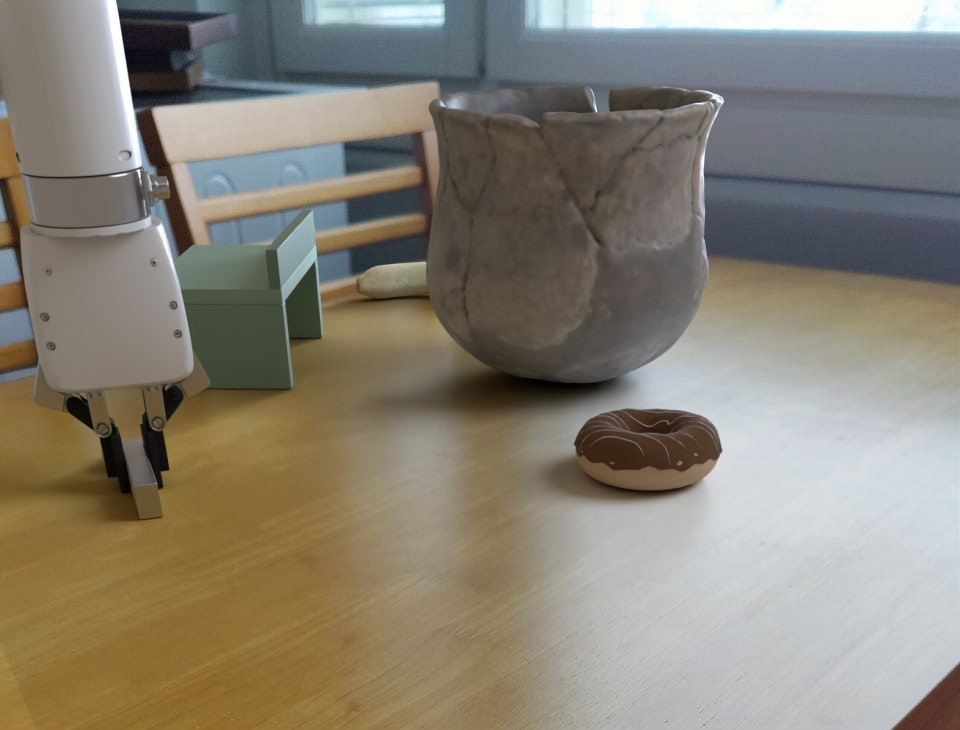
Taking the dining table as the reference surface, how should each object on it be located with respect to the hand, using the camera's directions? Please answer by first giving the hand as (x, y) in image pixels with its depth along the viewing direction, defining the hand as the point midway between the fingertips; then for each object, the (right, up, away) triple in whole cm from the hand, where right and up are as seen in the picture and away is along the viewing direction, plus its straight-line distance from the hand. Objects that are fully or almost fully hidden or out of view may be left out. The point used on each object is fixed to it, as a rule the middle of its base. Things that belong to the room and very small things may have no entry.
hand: (140, 481), depth 88 cm
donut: (+37, +1, +1) cm, 37 cm away
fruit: (+19, +33, +43) cm, 57 cm away
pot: (+32, +16, +21) cm, 42 cm away
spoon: (0, 0, 0) cm, 0 cm away
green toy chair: (+3, +19, +25) cm, 32 cm away
